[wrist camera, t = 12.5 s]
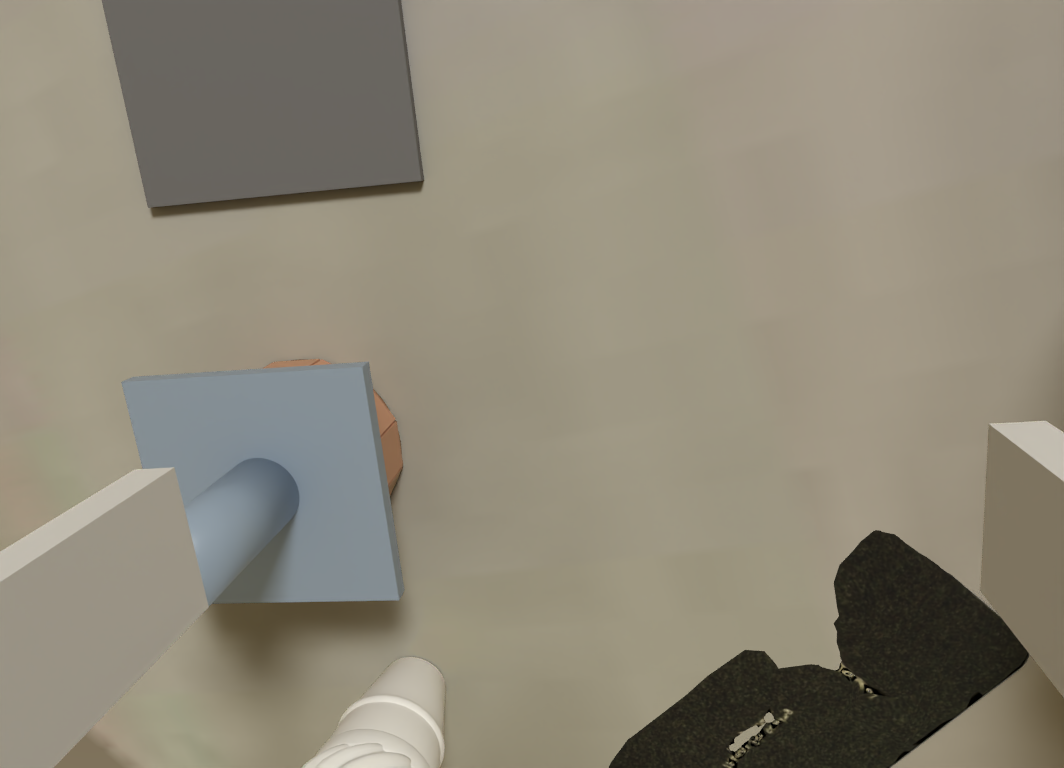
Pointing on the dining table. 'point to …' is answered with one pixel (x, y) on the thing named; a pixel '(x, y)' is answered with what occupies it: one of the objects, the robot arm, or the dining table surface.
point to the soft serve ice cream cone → (391, 722)
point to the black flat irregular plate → (847, 677)
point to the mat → (265, 96)
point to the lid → (276, 479)
